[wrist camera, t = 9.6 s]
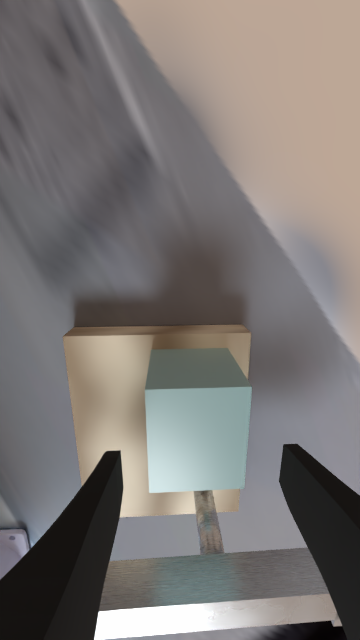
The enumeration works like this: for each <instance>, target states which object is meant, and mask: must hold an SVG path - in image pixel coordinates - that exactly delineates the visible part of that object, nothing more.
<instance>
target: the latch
mask: <svg viewBox="0 0 360 640" xmlns="http://www.w3.org/2000/svg"><path fill="white" fill-rule="evenodd" d="M193 492H194V501H195V510H196V519H197V528H198V537H199V546H200V555H194V556H179V557H165V558H150V559H136V560H121V561H109V564H108V569H107V573H106V577H105V582H104V586H103V591H102V596H101V601H100V607H99V614H98V620H97V626H96V632H95V638H94V640H98V639H110V638H122V637H134V636H147V635H159V634H171V633H183V632H195V631H207V630H220V629H232V628H244V627H256V626H268V625H280V624H292V623H305V622H317V621H329V620H331V622H332V624H333V626H342V624H341V621H340V619H339V616H338V614H337V611H336V609H335V606H334V604H333V601H332V599H331V596H330V594H329V591H328V589H327V586H326V584H325V582H324V580H323V578H322V575H321V573H320V571H319V569H318V567H317V565H316V563H315V561H314V559H313V557H312V555H311V553H310V551H309V549H308V548H295V549H280V550H266V551H251V552H237V553H224V549H223V543H222V538H221V533H220V528H219V522H218V517H217V512H216V507H215V501H214V496H213V491H212V490H204V491H193Z"/></svg>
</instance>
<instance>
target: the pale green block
mask: <svg viewBox="0 0 360 640" xmlns="http://www.w3.org/2000/svg"><path fill="white" fill-rule="evenodd" d="M251 394H252V386H251V384H250V383H249V381H248V379H247V378H246V376H245V375H244V373H243V371H242V370H241V368H240V367H239V365H238V364H237V362H236V360H235V359H234V357H233V356H232V354H231V352H230V351H229V349H228V348H199V349H151V354H150V360H149V367H148V373H147V379H146V385H145V406H146V430H147V453H148V476H149V493H161V492H183V491H204V490H225V489H244V484H245V471H246V458H247V446H248V433H249V420H250V407H251Z"/></svg>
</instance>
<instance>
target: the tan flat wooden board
mask: <svg viewBox="0 0 360 640" xmlns="http://www.w3.org/2000/svg"><path fill="white" fill-rule="evenodd" d="M63 342H64V350H65V358H66V366H67V374H68V381H69V389H70V397H71V405H72V413H73V420H74V428H75V436H76V444H77V452H78V460H79V467H80V475H81V483H82V486H83V484H84V483H85V482H86V480H87V479H88V477H89V476H90V474H91V473H92V471H93V470H94V468H95V467H96V465H97V464H98V462H99V461H100V459H101V457H102V456H103V454H104V453H105V452H106V451H118V450H121V461H122V474H123V487H124V488H123V496H122V504H121V511H120V517H137V516H156V515H176V514H195V513H196V510H195V501H194V492H193V491H183V492H161V493H149V476H148V453H147V430H146V406H145V385H146V379H147V373H148V367H149V360H150V354H151V349H199V348H228V349H229V351H230V352H231V354H232V356H233V357H234V359H235V360H236V362H237V364H238V365H239V367H240V368H241V370H242V371H243V373H244V375H245V376H246V378H247V379H248V370H249V356H250V342H251V332H250V331H249V330H248V329H247V328H245V327H244V326H243V325H183V326H123V327H74V328H72V329H71V330H70V331H69V332H68V333H66V334H65V335H64V336H63ZM212 491H213V496H214V501H215V507H216V512H235V511H238V508H239V494H240V489H225V490H212Z"/></svg>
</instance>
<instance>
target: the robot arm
mask: <svg viewBox="0 0 360 640" xmlns="http://www.w3.org/2000/svg"><path fill="white" fill-rule="evenodd" d="M279 483H280V485H281V488H282V491H283V494H284V497H285V499H286V502H287V505H288V507H289V509H290V512H291V514H292V516H293V518H294V520H295V522H296V524H297V526H298V528H299V530H300V532H301V534H302V536H303V538H304V540H305V542H306V544H307V546H308V549H309V551H310V553H311V555H312V557H313V559H314V561H315V563H316V565H317V567H318V569H319V571H320V573H321V575H322V578H323V580H324V582H325V584H326V586H327V589H328V591H329V594H330V596H331V599H332V601H333V604H334V606H335V609H336V611H337V614H338V616H339V619H340V621H341V624H342V626H343V629H344V632H345V634H346V637H347V639H348V640H360V495H358V494H357V493H356V492H354V491H353V490H352V489H351V488H349V487H348V486H347V485H346V484H344V483H343V482H342V481H341V480H339V479H338V478H337V477H336V476H335V475H333V474H332V473H331V472H330V471H329V470H327V469H326V468H325V467H324V466H323V465H321V464H320V463H319V462H318V461H317V460H316V459H314V458H313V457H312V456H311V455H310V454H309V453H307V452H306V451H305V450H304V449H303V448H302V447H300V446H299V445H298V444H284V445H283V453H282V462H281V470H280V478H279ZM123 488H124V487H123V474H122V461H121V450H118V451H106V452H105V453H104V454H103V456H102V457H101V459H100V461H99V462H98V464H97V465H96V467H95V468H94V470H93V471H92V473H91V474H90V476H89V477H88V479H87V480H86V482H85V483H84V484H83V486H82V487H81V489H80V490H79V491H78V493H77V494H76V495H75V497H74V498H73V499H72V501H71V502H70V503H69V505H68V506H67V507H66V508H65V510H64V511H63V512H62V513H61V515H60V516H59V517H58V518H57V520H56V521H55V522H54V523H53V524H52V526H51V527H50V528H49V529H48V530H47V531H46V533H45V534H44V535H43V536H42V537H41V538H40V539H39V540H38V541H37V543H36V544H35V545H34V546H33V547H32V548H31V549H29V544H28V540H27V535H26V532H25V531H24V530H23V529H9V530H0V640H94V638H95V632H96V626H97V620H98V614H99V607H100V601H101V596H102V591H103V586H104V582H105V577H106V573H107V569H108V564H109V560H110V556H111V552H112V547H113V543H114V539H115V534H116V530H117V526H118V521H119V517H120V511H121V504H122V496H123Z"/></svg>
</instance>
